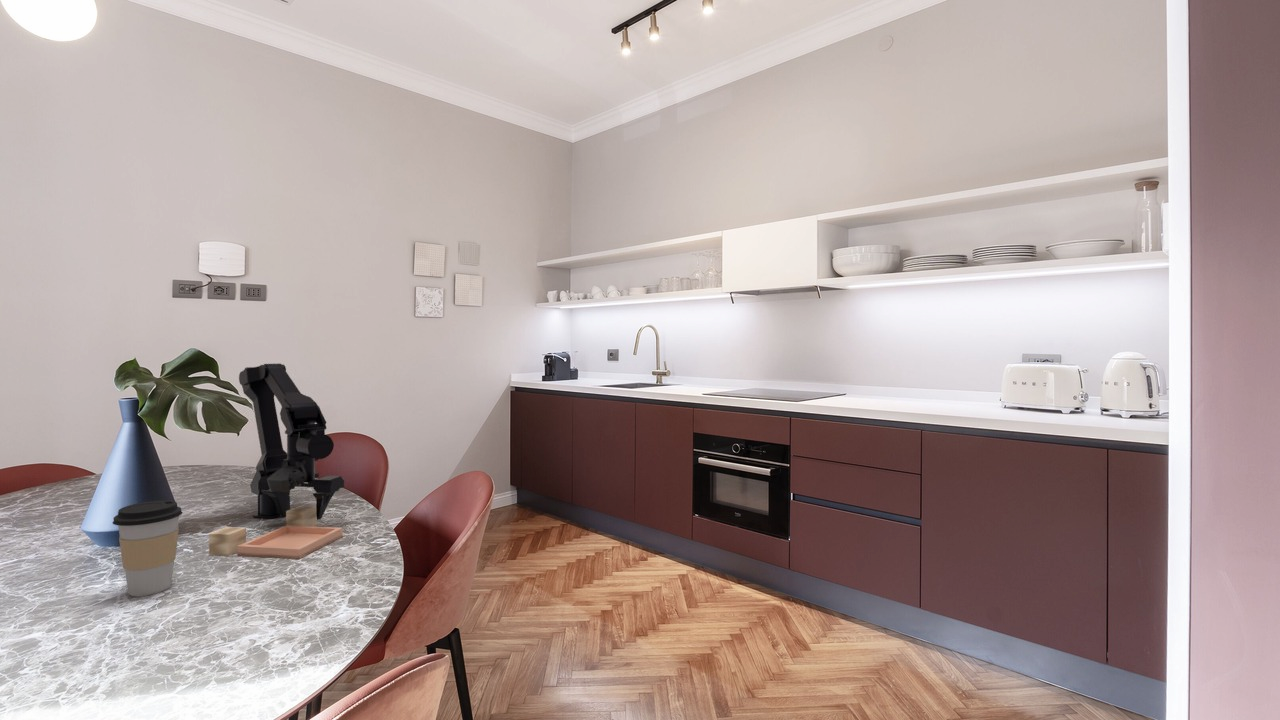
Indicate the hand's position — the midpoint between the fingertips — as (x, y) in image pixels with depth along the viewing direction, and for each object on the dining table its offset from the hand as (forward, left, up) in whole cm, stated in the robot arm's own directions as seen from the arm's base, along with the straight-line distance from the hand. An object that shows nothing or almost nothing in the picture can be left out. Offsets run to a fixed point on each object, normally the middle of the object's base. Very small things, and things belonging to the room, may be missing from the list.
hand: (301, 518), depth 138 cm
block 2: (0, 0, -2) cm, 2 cm away
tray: (+7, -12, -2) cm, 14 cm away
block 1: (-4, -17, -2) cm, 18 cm away
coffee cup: (-2, -36, -2) cm, 36 cm away
